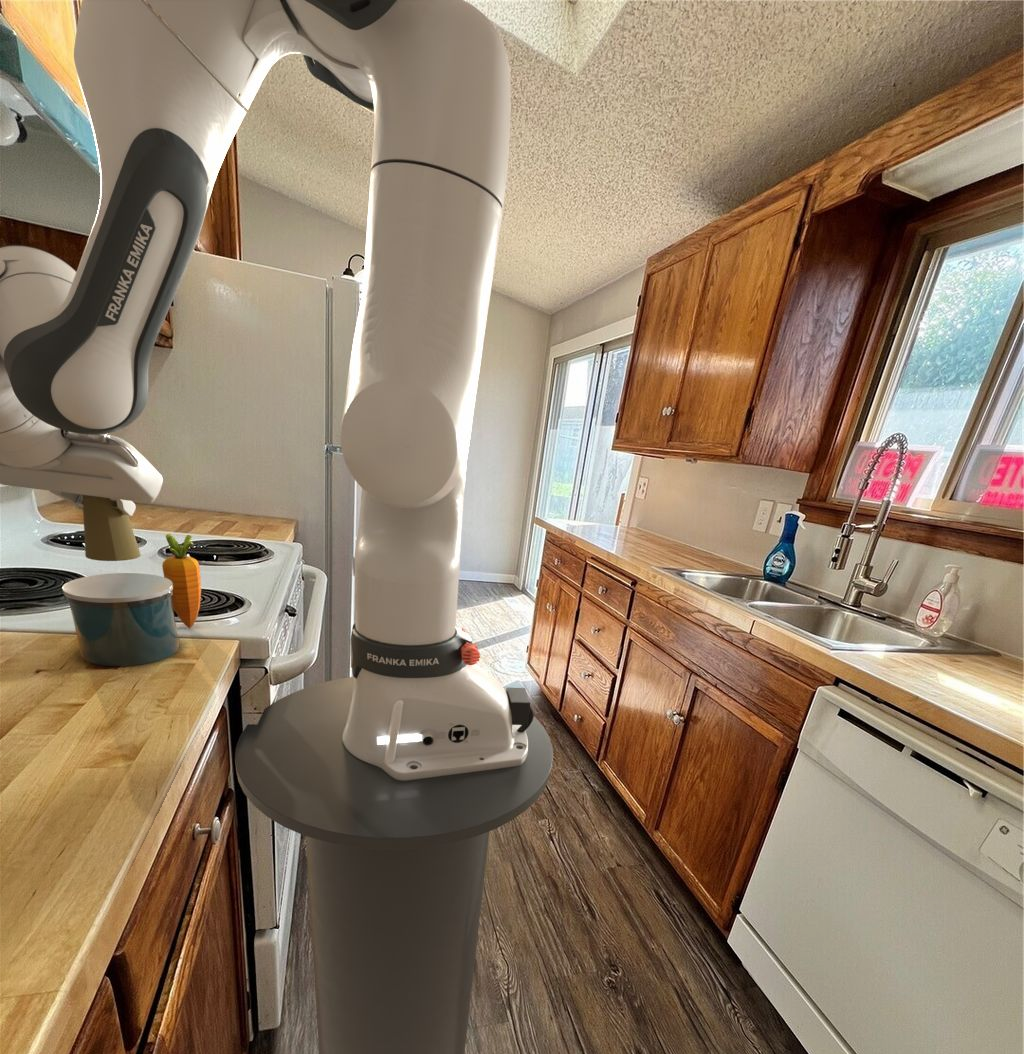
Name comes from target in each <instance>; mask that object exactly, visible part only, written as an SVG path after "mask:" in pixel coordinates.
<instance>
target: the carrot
mask: <svg viewBox="0 0 1024 1054" xmlns="http://www.w3.org/2000/svg"><path fill="white" fill-rule="evenodd" d="M192 537H193V536H192V535H190V534H186V536H185V537H184V539H183V543H182V544H183V545H182V544H181V545H180V544H179V543H178V541H177V539H176V538H175V537H174V535H172V534H171V533H167V534H165V539H166V542H167V543H168V546H169V551H170V552H171V553H172V554H173V555H171V556H168V557H167V558H166V559H165V560H163V562H162V566H161V567H162V572H163V577H165V578H167V579H169V580H171V581H172V583H173V595H172V596H171V597H172V603H173V610H174V613H175V614H176V615H177V617H178V619H180V621H181V622H182V623H183V625H184V626H186V627H187V628H188V629H191V628H192V627H193V626H194V625H195V622H196V620H197V617H198V616H199V611H200V608H201V600H202V599H201V598H202V583H201V580H202V579H201V570H200V563H199V561H198V560H197V559H196V558H194V557H192V556H189V555H187V552H188V550H189V549H190V547H192V546H194V542H193V541H191V540H192Z"/></svg>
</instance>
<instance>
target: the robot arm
mask: <svg viewBox="0 0 1024 1054" xmlns="http://www.w3.org/2000/svg"><path fill="white" fill-rule="evenodd" d="M77 19H78V20H77V24H76V32H75V38H74V45H73V61H74V66H75V71H76V76H77V80H78V83H79V87H80V91H81V93H82V96H83V100H84V104H85V105H86V109H87V113H88V117H89V120H90V125H91V129H92V132H93V137H94V141H95V146H96V151H97V157H98V165H99V173H100V175H99V176H100V194H99V198H100V199H99V204H98V210H97V214H96V216H95V220H94V223H93V226H92V228H91V231H90V234H89V237H88V239H87V241H86V245H85V247H84V249H83V252H82V256H81V258H80V261H79V264H78V267H77V269H75V268H74V267H72V266H71V265H70V264H68V263H67V262H66V261H64V260H63V259H62V258H60V257H59V256H57V255H55V254H53V253H50V252H48V251H46V250H44V249H42V248H38V247H35V246H30V245H25V244H6V245H1V246H0V485H2V486H3V485H4V486H10V487H18V488H26V489H34V490H41V491H48V492H50V493H51V494H53V495H55V496H57V497H59V498H61V499H63V500H65V501H67V502H69V503H71V504H72V505H73V506H74V507H76V509H78V510H79V511H83V495H89V496H97V497H105V498H110V499H111V500H114V501H116V502H114V504H113V506H112V508H113V509H115V510H116V511H117V512H119V513H120V514H122V515H127V516H128V517H132V516H133V515H134V513H135V511H136V510H137V509H136V508H137V506H136V504H135V503H134V502H137V503H145V504H152V503H154V502H155V500H156V499H157V497H158V496H159V494H160V492H161V489H162V486H163V483H164V479H163V478H164V477H163V475H162V474H161V473H160V472H159V471H158V470H157V469H156V468H155V467H154V465H153V464H152V463H151V462H150V461H149V460H148V459H147V458H146V457H145V456H144V455H143V454H142V453H141V452H139V451H138V450H137V449H136V448H135V447H134V446H133V445H131V443H129V442H128V441H126V440H125V439H123V438H121V437H118V436H115V435H112V434H111V433H114V432H117V431H120V430H122V429H124V428H126V427H128V426H130V425H131V424H132V423H133V422H134V421H136V420H137V419H138V418H139V417H140V416H141V414H142V413H143V412H144V410H145V407H146V405H147V402H148V398H149V370H150V369H149V368H150V360H151V357H152V356H151V355H152V353H153V349H154V346H155V345H156V344H155V343H156V341H157V339H158V337H159V334H160V332H161V329H162V327H163V324H164V322H165V320H166V318H167V315H168V313H169V310H170V308H171V306H172V303H173V301H174V298H175V296H176V293H177V292H178V289H179V287H180V285H181V282H182V279H183V278H184V274H185V272H186V270H187V267H188V265H189V263H190V260H191V258H192V255H193V253H194V250H195V248H196V245H197V242H198V239H199V237H200V234H201V230H202V228H203V224H204V221H205V216H206V213H207V210H208V207H209V203H210V199H211V195H212V192H213V188H214V185H215V182H216V180H217V176H218V175H219V174H218V173H219V171H220V169H221V166H222V164H223V162H224V159H225V157H226V155H227V153H228V150H229V148H230V146H231V144H232V142H233V139H234V137H235V135H236V133H237V131H238V130H239V128H240V126H241V124H242V121H243V120H244V117H246V114H247V110H249V108H250V107H251V104H252V103H253V101H254V98H255V96H256V95H257V93H258V91H259V89H260V87H261V85H262V82H263V81H264V79H265V78H266V76H267V74H268V73H269V71H270V69H271V68H272V67H273V66H274V64H276V63H277V62H278V61H279V60H280V59H281V58H283V57H285V56H287V55H290V54H291V55H292V54H298V55H302V56H303V59H304V62H305V65H306V68H307V70H308V72H309V73H310V74H311V76H313V77H314V78H315V79H317V80H319V81H320V82H322V83H323V84H325V85H327V86H329V87H331V88H332V89H334V90H336V91H337V92H339V93H340V94H342V95H343V96H345V98H348V99H349V100H350V101H351V102H352V103H355V104H356V105H358V106H359V107H361V108H362V109H365V110H366V111H368V112H369V113H372V114H373V119H374V120H373V121H374V122H373V124H374V125H373V139H372V150H371V151H372V152H371V153H372V154H371V165H370V179H369V195H368V207H367V208H368V210H367V222H366V223H367V224H366V238H365V250H364V251H365V252H364V253H365V254H364V267H363V278H362V289H361V296H360V303H359V309H358V313H357V318H356V323H355V330H354V335H353V340H352V347H351V353H350V360H349V367H348V373H347V380H346V381H347V382H346V389H345V397H344V403H343V404H344V405H343V413H342V418H341V423H340V435H339V438H340V439H339V440H340V449H341V453H342V458H343V459H344V462H345V465H346V467H347V469H348V471H349V473H350V475H351V476H352V478H353V479H354V480H355V482H356V483H357V484H358V485H359V487H360V488H361V493H360V494H361V495H360V508H359V517H358V518H359V519H358V528H357V537H356V544H355V550H354V608H355V609H354V618H355V619H354V623H353V624H352V629H351V634H350V639H349V641H350V642H349V645H350V647H349V648H350V650H349V653H350V656H349V657H350V668H351V673H352V677H353V676H354V683H353V692H352V699H351V705H350V711H349V715H348V719H347V723H346V726H345V729H344V732H343V736H342V740H343V744H344V746H345V747H346V749H347V750H348V751H349V752H350V753H351V754H352V755H354V756H355V757H357V758H358V759H360V760H362V761H365V762H367V763H370V764H372V765H375V766H378V767H380V768H382V769H383V770H384V771H385V772H386V773H387V774H389V775H390V776H391V777H393V778H394V779H397V780H401V781H407V780H414V779H422V778H430V777H438V776H445V775H453V774H461V773H468V772H476V771H484V770H491V769H499V768H507V767H514V766H519V765H521V764H522V763H523V762H524V761H525V759H526V757H527V754H528V738H527V734H526V731H525V730H526V729H527V728H528V727H529V726H530V724H531V723H532V721H533V717H535V713H534V709H533V707H532V706H531V701H530V697H529V695H528V692H527V690H526V687H507V686H506V688H504V686H503V685H502V683H501V682H500V681H499V680H498V679H497V678H496V677H495V676H493V675H492V674H491V673H489V672H488V671H486V670H485V669H484V668H482V667H481V666H480V665H478V664H477V663H478V662H479V661H480V658H481V654H480V653H481V652H480V651H479V647H478V646H477V645H476V644H475V643H473V638H472V637H471V636H470V635H469V634H468V632H467V630H466V629H465V627H461V629H460V628H459V627H457V612H458V599H459V598H458V597H459V585H460V584H459V582H460V569H461V568H460V567H461V552H462V551H461V549H462V537H463V533H462V532H463V520H464V501H465V490H466V489H465V487H466V472H467V460H468V454H469V447H470V442H471V441H470V440H471V435H472V434H471V433H472V427H473V419H474V413H475V405H476V399H477V392H478V383H479V378H480V377H479V376H480V370H481V363H482V357H483V349H484V342H485V335H486V327H487V322H488V315H489V307H490V301H491V294H492V286H493V279H494V273H495V267H496V261H497V260H496V259H497V253H498V247H499V246H498V245H499V239H500V233H501V225H502V219H503V212H504V205H505V197H506V189H507V181H508V180H507V179H508V169H509V161H510V160H509V157H510V142H511V141H510V140H511V114H512V112H511V111H512V99H511V98H512V97H511V95H512V94H511V92H512V88H511V85H512V84H511V81H512V79H511V78H512V77H511V65H510V61H509V55H508V52H507V48H506V46H505V43H504V41H503V39H502V37H501V35H500V33H499V31H498V30H497V28H496V26H494V24H493V23H492V21H491V20H490V19H489V18H488V17H487V16H486V15H485V14H484V13H483V12H482V11H481V10H479V9H478V8H477V7H476V6H474V5H473V4H471V3H470V2H468V1H466V0H81V4H80V7H79V13H78V18H77ZM242 105H243V106H244V107H243V106H242Z"/></svg>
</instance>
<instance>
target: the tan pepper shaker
mask: <svg viewBox="0 0 1024 1054" xmlns="http://www.w3.org/2000/svg"><path fill="white" fill-rule="evenodd" d="M114 502H116V501H114V500H111V499H110V498H105V497H97V496H89V495H83V510H82V513H83V533H84V534H83V535H84V555H85V558H86V559H88V560H92V561H100V562H124V561H130V560H135V559H139V558H140V557H141V556H142V554H141V551H140V548H139V545H138V542H137V539H136V535H135V532H134V529H133V527H132V523H131V520H130V516H127V515H122V514H120V513H119V512H117V511H116V510H115V509H113V508H112V506H113V504H114Z"/></svg>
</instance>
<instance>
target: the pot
mask: <svg viewBox="0 0 1024 1054" xmlns="http://www.w3.org/2000/svg"><path fill="white" fill-rule="evenodd" d="M61 590H62V594H63V595H64V599H65V600H66V602H67V603H68V604H69V607H70V612H71V616H72V621H73V625H74V629H75V633H76V634H75V635H76V637H77V642H78V646H79V650H80V654H81V655H80V656H81V658H82V659H83V660H84V661H85V662H87V663H89V664H92V665H96V666H103V667H133V666H140V665H146V664H152V663H156V662H159V661H162V660H165V659H167V658H169V657H171V656H173V655H174V654H176V653H177V652H178V651H179V649H180V642H179V637H178V629H177V622H176V617H175V616H176V615H175V610H174V608H173V603H172V597H171V596H172V595H173V583H172V581H171V580H169V579H167V578H165V577H164V576H161V575H157V574H149V573H139V572H138V573H137V572H136V573H135V572H118V573H117V572H116V573H103V574H95V575H94V574H93V575H89V576H83V577H78V578H75V579H73V580H70V581H68V582H66V583H64V584H63V585H62V587H61Z"/></svg>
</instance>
